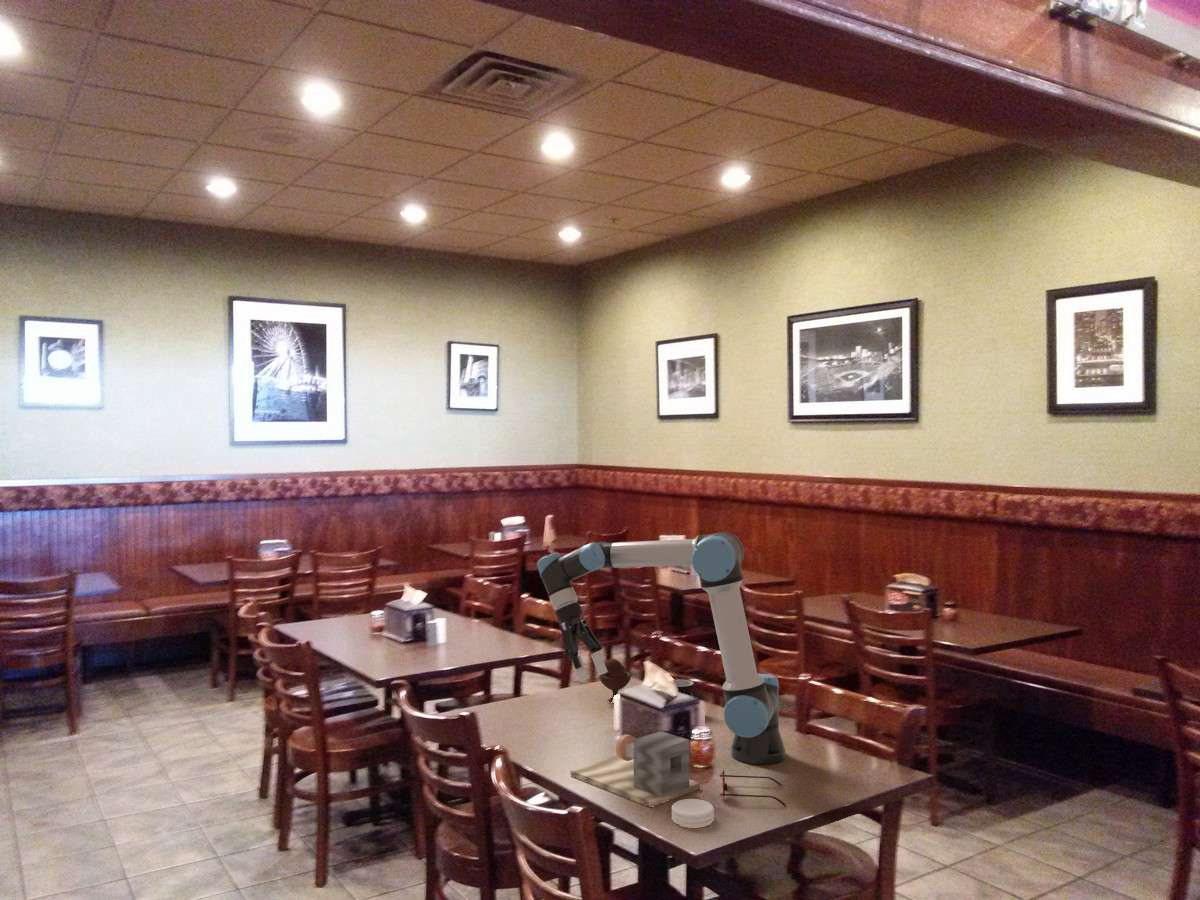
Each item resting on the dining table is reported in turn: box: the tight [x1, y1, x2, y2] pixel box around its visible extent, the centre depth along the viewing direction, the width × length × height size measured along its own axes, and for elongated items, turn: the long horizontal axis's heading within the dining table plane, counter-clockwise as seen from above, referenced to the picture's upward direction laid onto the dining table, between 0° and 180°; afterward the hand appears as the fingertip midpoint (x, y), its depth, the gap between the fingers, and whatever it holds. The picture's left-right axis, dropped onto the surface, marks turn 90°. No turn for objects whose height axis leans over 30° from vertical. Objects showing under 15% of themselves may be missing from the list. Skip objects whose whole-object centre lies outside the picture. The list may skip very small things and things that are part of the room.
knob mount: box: [570, 730, 701, 808], centre depth 241 cm, size 30×18×14 cm, turn 43°
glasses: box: [719, 769, 787, 806], centre depth 233 cm, size 14×16×5 cm
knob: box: [615, 734, 637, 761], centre depth 238 cm, size 14×6×6 cm, turn 43°
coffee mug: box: [673, 679, 694, 697], centre depth 304 cm, size 12×9×10 cm
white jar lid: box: [671, 798, 715, 827], centre depth 217 cm, size 10×10×4 cm
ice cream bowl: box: [598, 658, 632, 704], centre depth 316 cm, size 11×11×15 cm
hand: (594, 676), depth 259 cm, fingers open, 13 cm apart
